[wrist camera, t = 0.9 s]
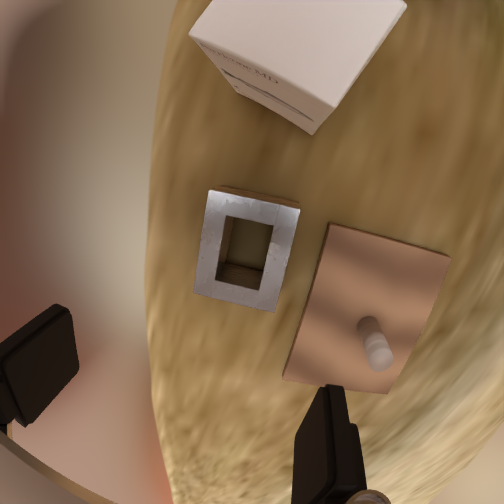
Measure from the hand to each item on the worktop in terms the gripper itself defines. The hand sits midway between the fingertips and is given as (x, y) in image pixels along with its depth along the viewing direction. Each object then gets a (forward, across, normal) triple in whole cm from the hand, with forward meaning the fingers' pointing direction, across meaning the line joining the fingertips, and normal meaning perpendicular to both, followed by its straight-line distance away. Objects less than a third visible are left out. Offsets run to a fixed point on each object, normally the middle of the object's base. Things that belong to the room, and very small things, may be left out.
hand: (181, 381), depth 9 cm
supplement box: (+17, -1, -15) cm, 22 cm away
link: (+17, 0, -1) cm, 17 cm away
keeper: (+17, -12, +4) cm, 21 cm away
